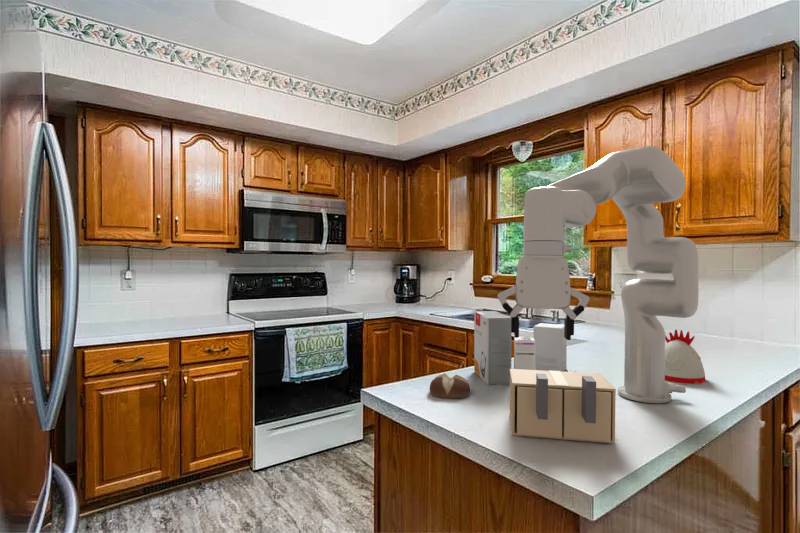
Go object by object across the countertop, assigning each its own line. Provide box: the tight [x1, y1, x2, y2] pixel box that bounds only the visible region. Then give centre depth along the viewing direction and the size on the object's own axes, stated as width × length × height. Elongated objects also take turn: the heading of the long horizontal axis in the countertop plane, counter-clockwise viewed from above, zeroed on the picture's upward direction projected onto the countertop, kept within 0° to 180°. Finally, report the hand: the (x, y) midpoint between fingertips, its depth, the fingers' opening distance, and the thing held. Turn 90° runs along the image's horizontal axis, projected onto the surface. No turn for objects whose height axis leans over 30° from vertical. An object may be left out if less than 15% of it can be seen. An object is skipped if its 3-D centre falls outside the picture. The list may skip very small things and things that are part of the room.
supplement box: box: [533, 322, 568, 372], centre depth 145 cm, size 9×9×15 cm
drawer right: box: [564, 376, 611, 442], centre depth 86 cm, size 9×4×13 cm, turn 78°
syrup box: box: [513, 336, 536, 370], centre depth 124 cm, size 6×6×14 cm
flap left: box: [517, 373, 562, 438], centre depth 88 cm, size 9×4×13 cm, turn 78°
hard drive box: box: [473, 310, 513, 386], centre depth 135 cm, size 16×8×20 cm, turn 5°
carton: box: [509, 368, 617, 444], centre depth 95 cm, size 20×12×11 cm, turn 78°
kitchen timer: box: [665, 329, 706, 385], centre depth 137 cm, size 14×14×15 cm
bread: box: [429, 372, 472, 400], centre depth 120 cm, size 11×11×5 cm
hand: (541, 337), depth 86 cm, fingers open, 9 cm apart
